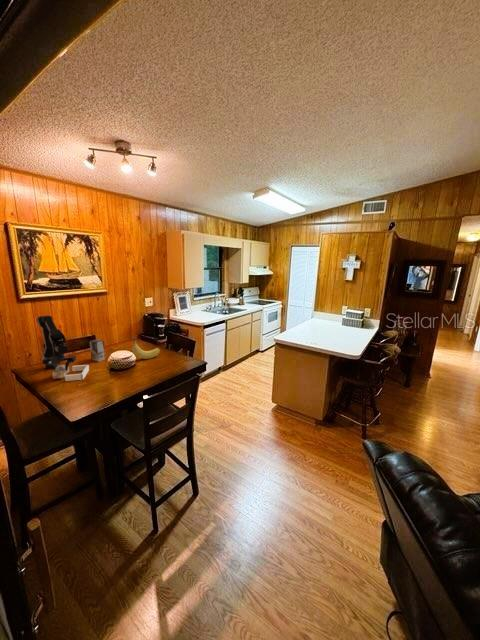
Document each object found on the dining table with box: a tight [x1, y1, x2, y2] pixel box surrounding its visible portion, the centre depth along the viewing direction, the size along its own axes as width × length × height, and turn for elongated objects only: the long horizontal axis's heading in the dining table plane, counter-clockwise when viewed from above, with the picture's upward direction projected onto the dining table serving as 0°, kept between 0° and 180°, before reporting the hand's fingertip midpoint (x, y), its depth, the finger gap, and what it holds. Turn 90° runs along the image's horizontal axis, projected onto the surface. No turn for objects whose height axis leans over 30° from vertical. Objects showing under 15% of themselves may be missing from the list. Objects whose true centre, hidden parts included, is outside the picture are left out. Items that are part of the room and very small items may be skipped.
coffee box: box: [89, 338, 106, 362], centre depth 216 cm, size 9×6×16 cm
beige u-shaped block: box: [64, 364, 90, 382], centre depth 188 cm, size 11×17×4 cm, turn 16°
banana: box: [131, 337, 161, 360], centre depth 221 cm, size 23×6×20 cm, turn 128°
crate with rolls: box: [51, 364, 70, 380], centre depth 185 cm, size 7×12×5 cm, turn 16°
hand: (61, 371), depth 185 cm, fingers closed on crate with rolls, 6 cm apart
